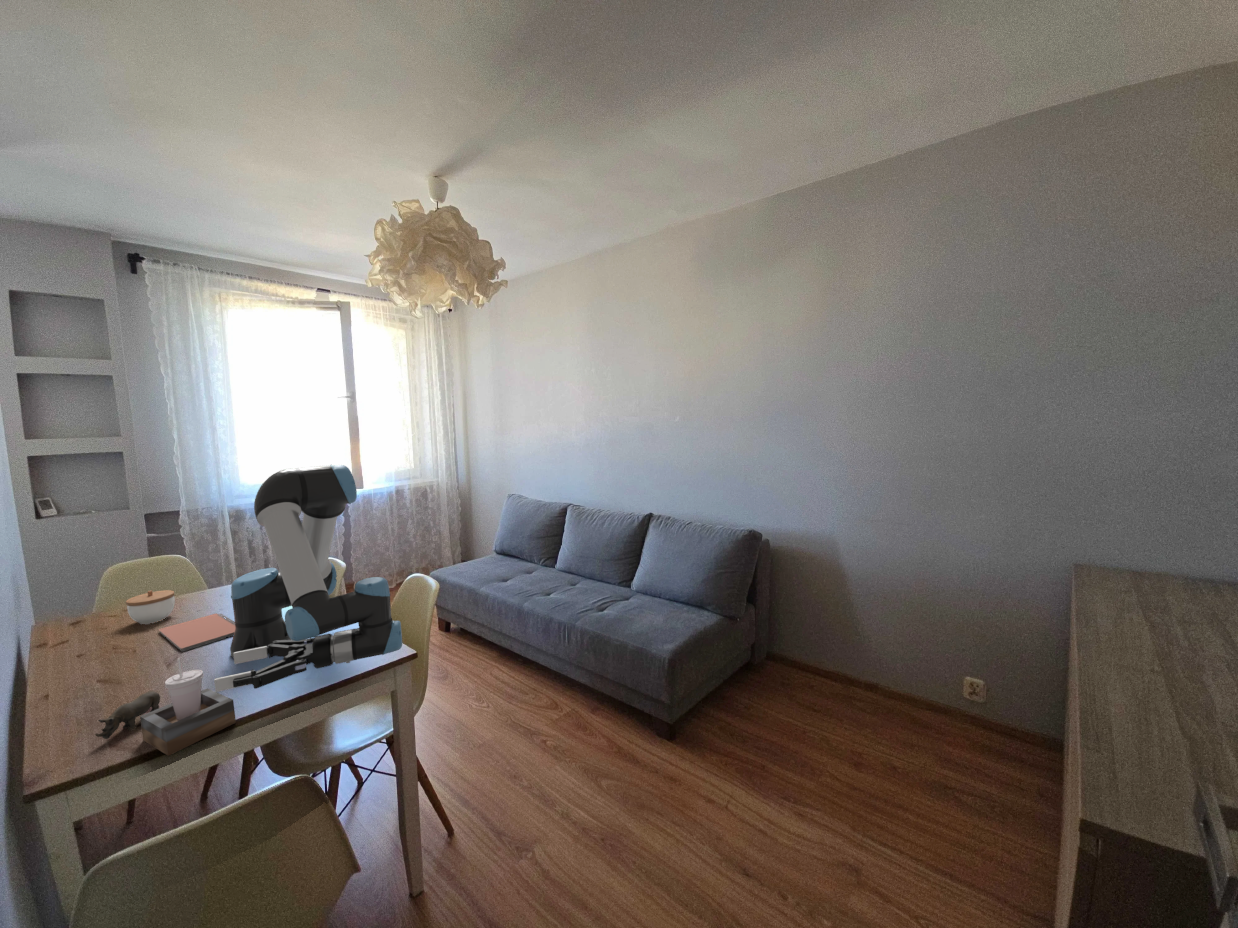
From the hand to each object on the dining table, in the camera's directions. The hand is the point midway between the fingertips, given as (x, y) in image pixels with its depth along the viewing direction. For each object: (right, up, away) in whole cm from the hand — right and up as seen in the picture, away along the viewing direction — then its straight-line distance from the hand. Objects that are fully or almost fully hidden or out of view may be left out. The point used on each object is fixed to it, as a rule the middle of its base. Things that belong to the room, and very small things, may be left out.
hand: (225, 670), depth 109 cm
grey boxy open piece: (-6, -13, -2) cm, 14 cm away
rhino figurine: (-22, -13, +1) cm, 26 cm away
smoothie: (-6, -10, -2) cm, 12 cm away
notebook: (-51, -10, +53) cm, 74 cm away
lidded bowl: (-79, -10, +65) cm, 103 cm away
